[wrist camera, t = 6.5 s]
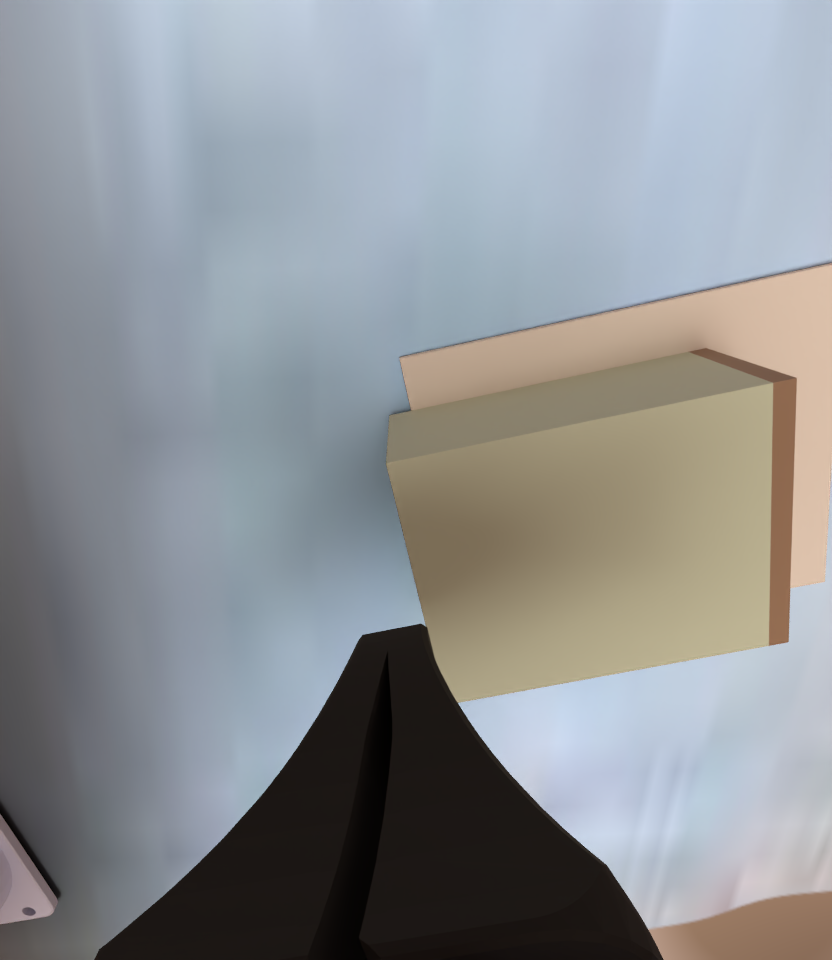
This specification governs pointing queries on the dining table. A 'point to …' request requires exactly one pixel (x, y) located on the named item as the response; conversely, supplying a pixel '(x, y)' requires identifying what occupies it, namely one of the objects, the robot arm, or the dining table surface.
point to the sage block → (600, 521)
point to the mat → (669, 331)
